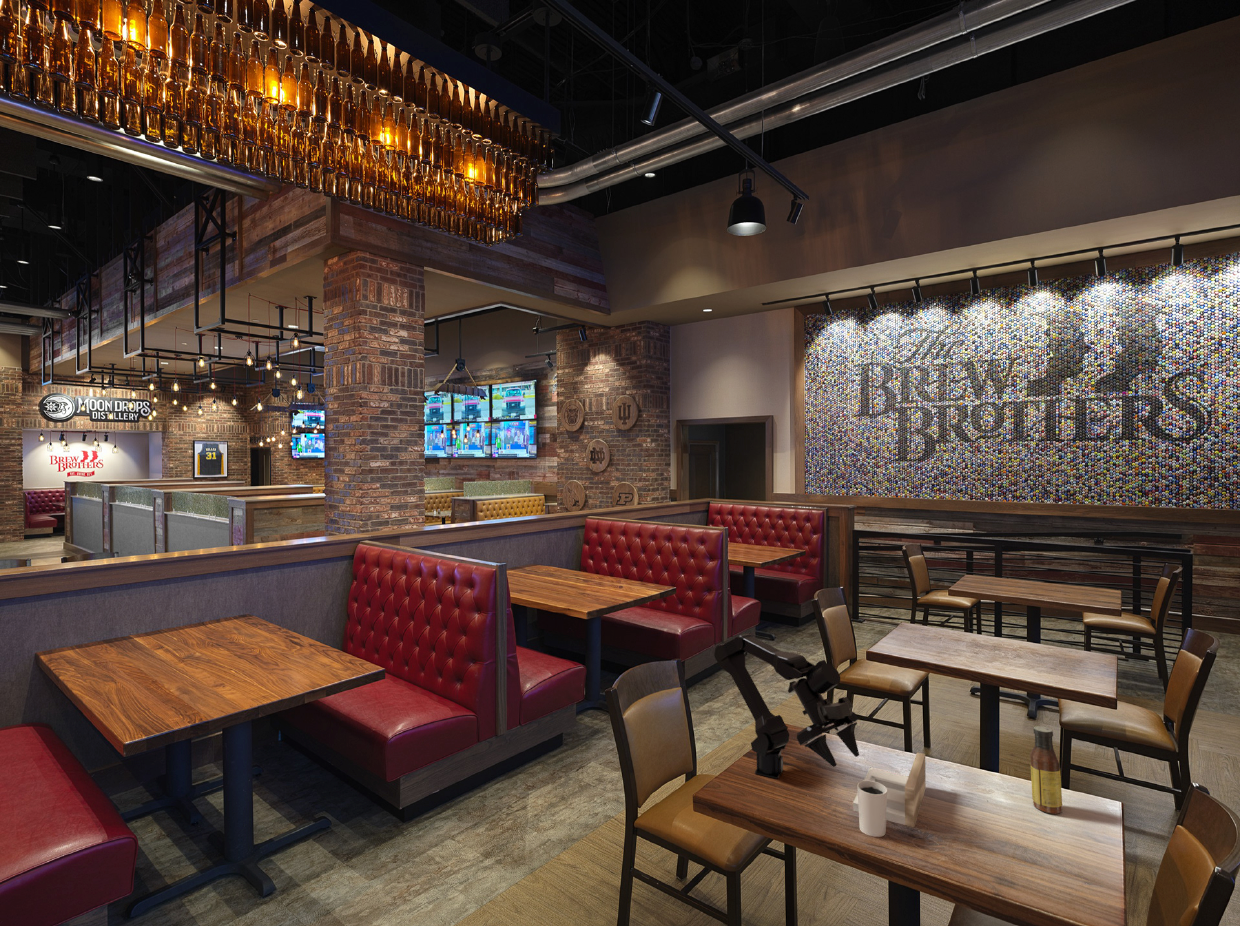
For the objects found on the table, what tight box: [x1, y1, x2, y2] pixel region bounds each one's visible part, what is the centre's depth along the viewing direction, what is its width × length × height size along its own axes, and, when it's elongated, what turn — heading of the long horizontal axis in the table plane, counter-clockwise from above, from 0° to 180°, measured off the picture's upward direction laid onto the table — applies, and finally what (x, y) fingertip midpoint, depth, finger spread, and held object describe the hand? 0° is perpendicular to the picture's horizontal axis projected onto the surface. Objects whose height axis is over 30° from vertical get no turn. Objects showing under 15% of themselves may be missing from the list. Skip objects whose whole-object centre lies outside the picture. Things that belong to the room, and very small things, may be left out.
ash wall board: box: [904, 752, 927, 828], centre depth 158 cm, size 2×22×9 cm, turn 147°
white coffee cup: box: [856, 780, 887, 838], centre depth 148 cm, size 7×7×10 cm
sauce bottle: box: [1030, 725, 1063, 815], centre depth 157 cm, size 7×6×20 cm
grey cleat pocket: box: [852, 767, 909, 826], centre depth 162 cm, size 12×22×4 cm, turn 147°
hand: (846, 761), depth 155 cm, fingers open, 9 cm apart
